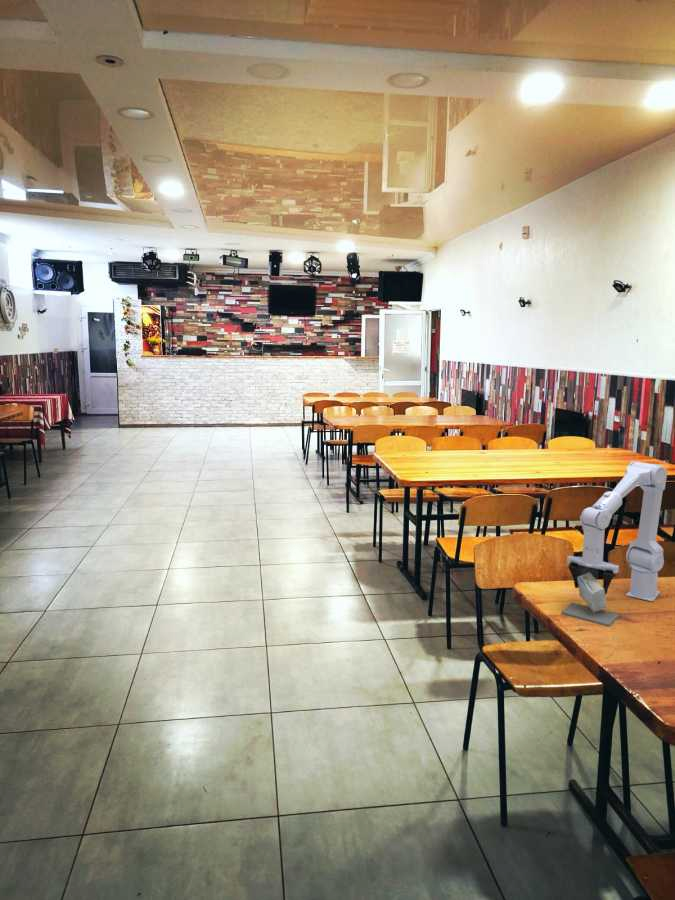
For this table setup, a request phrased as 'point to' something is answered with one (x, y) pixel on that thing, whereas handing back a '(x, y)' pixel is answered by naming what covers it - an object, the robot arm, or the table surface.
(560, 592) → the table surface
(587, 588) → the medicine box
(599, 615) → the mat
